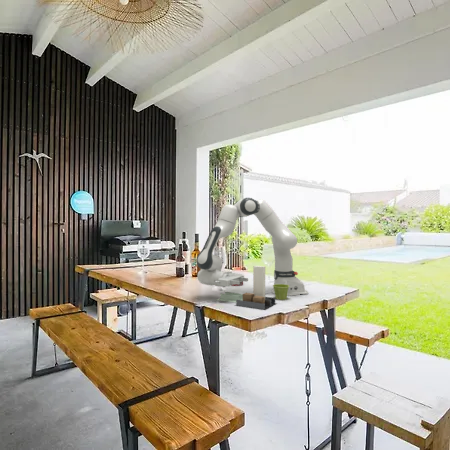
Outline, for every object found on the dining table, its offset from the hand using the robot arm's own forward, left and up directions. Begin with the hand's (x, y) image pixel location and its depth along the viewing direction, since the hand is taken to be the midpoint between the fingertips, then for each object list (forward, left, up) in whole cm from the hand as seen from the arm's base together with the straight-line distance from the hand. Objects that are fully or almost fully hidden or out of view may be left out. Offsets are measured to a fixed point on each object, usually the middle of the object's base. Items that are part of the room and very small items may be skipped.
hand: (243, 281), depth 197 cm
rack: (-5, +9, -12) cm, 16 cm away
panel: (-7, +6, -11) cm, 14 cm away
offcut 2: (-5, +13, -11) cm, 18 cm away
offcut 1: (-1, +10, -11) cm, 15 cm away
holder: (+6, -5, -12) cm, 14 cm away
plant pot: (-22, -2, -12) cm, 26 cm away
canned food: (-5, -52, -13) cm, 54 cm away
